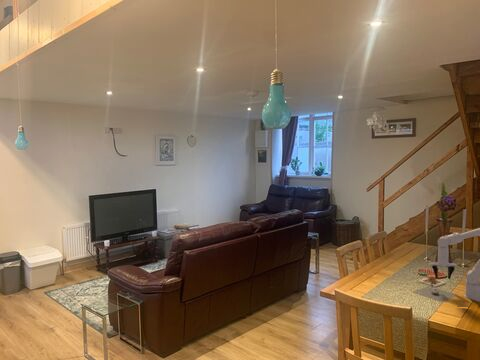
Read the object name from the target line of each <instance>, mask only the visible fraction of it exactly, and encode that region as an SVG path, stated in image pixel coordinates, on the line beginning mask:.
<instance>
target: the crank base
mask: <svg viewBox="0 0 480 360" xmlns="http://www.w3.org/2000/svg"><path fill="white" fill-rule="evenodd" d="M435 289H437V290H439V294H437V295H436V294H432V293H431V290H430V285H427V286H425V287H423V288H419V289H417V290H414V291H412V293H413V294H416V295H419V296H422V297H425V298H428V299H430V300H434V301H437V302H439V303H443V302H446V301H447V300H450V299H452V298H455V297H457V296H458V294H456V293H453V292H450V291H447V290H444V289H439V288H438V287H435Z"/></svg>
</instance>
